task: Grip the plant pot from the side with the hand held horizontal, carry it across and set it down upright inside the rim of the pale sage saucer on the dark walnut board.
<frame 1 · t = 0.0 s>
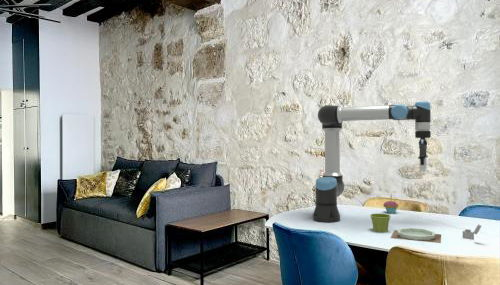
hand: (423, 170, 205), 28 cm above the table, tool pointing down, fingers open, 13 cm apart
lighter: (472, 242, 167), on the table
saucer: (416, 236, 172), resting on walnut board
plant pot: (380, 233, 184), on the table
cupcake: (390, 213, 234), on the table
walnut board: (416, 239, 172), on the table
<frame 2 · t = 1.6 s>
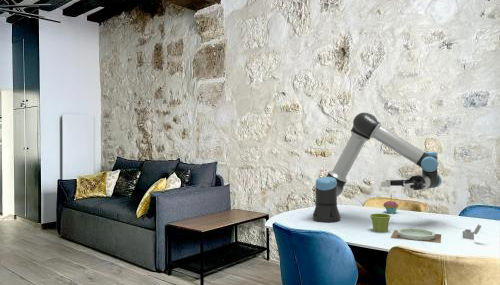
hand: (392, 185, 189), 22 cm above the table, tool horizontal, fingers open, 13 cm apart
nothing on the table moved.
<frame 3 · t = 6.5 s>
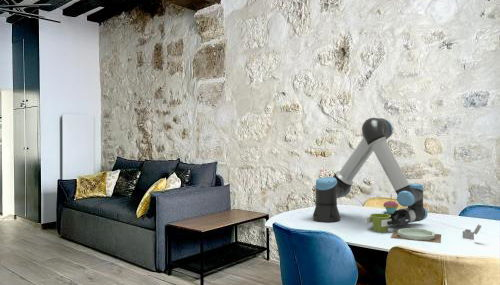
hand: (373, 222, 181), 6 cm above the table, tool horizontal, fingers closed on plant pot, 8 cm apart
plant pot: (380, 233, 184), on the table, touching gripper
everything else where it was.
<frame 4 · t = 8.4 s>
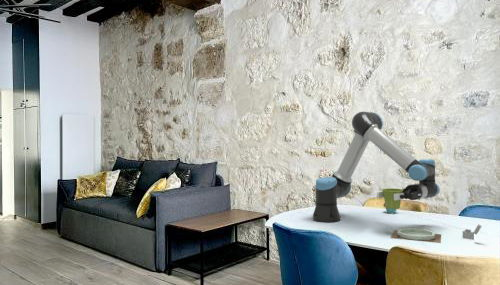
hand: (386, 196, 177), 19 cm above the table, tool horizontal, fingers closed on plant pot, 8 cm apart
plant pot: (392, 208, 180), point 13 cm above the table, touching gripper
everything else where it was.
when the fingers open (10 cm above the table, at t = 10.6 s): plant pot drops 1 cm, resting on saucer.
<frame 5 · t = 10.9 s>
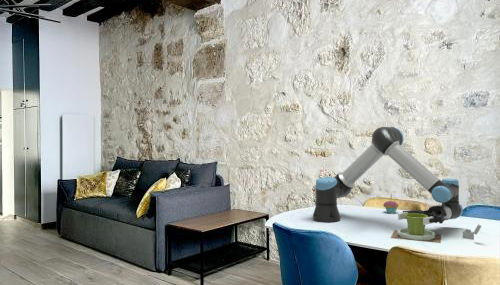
hand: (410, 219, 170), 10 cm above the table, tool horizontal, fingers open, 12 cm apart
plant pot: (416, 235, 172), point 2 cm above the table, touching saucer
everything else where it was.
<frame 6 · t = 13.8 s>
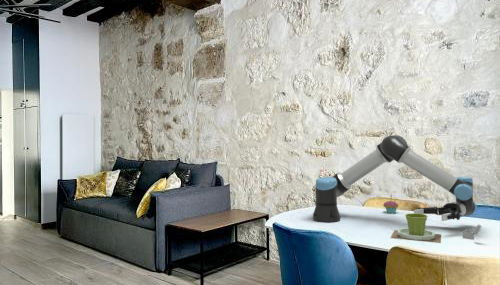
hand: (428, 215, 177), 10 cm above the table, tool horizontal, fingers open, 13 cm apart
nothing on the table moved.
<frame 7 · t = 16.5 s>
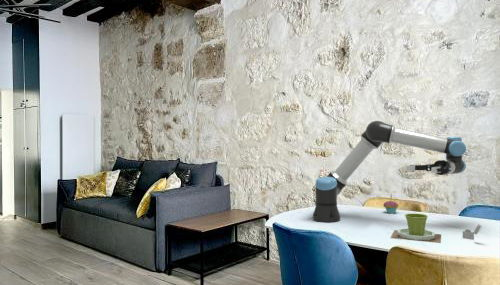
hand: (418, 169, 187), 30 cm above the table, tool horizontal, fingers open, 13 cm apart
nothing on the table moved.
at the end: plant pot 0.1 cm off-centre on the saucer, point 0.4 cm above the saucer's base; plant pot tilted 0°; the gripper is holding nothing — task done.
